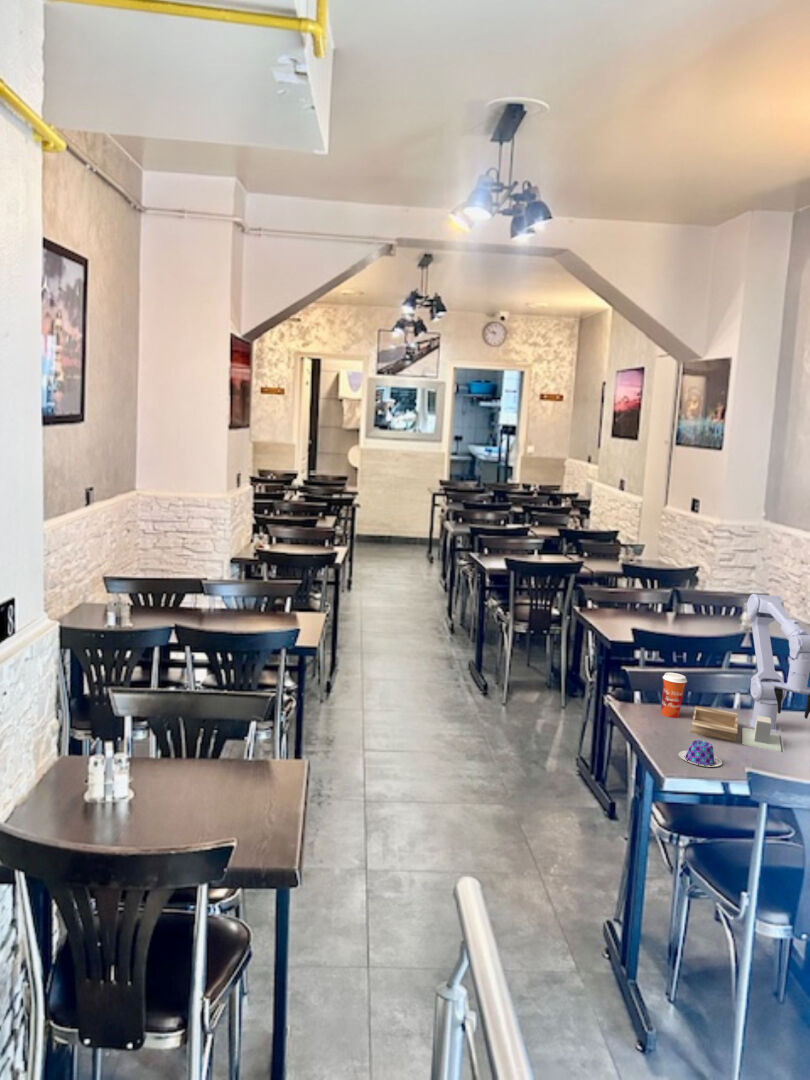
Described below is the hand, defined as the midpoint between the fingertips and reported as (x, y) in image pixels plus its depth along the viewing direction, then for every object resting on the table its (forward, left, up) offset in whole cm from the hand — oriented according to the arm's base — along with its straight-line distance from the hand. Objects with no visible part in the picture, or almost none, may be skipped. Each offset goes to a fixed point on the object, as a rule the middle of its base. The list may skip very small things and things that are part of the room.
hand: (792, 715), depth 269 cm
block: (+3, -8, -8) cm, 12 cm away
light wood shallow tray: (+3, -22, -9) cm, 24 cm away
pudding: (+32, -25, -10) cm, 42 cm away
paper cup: (-5, -36, -10) cm, 38 cm away
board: (+3, -8, -9) cm, 13 cm away
